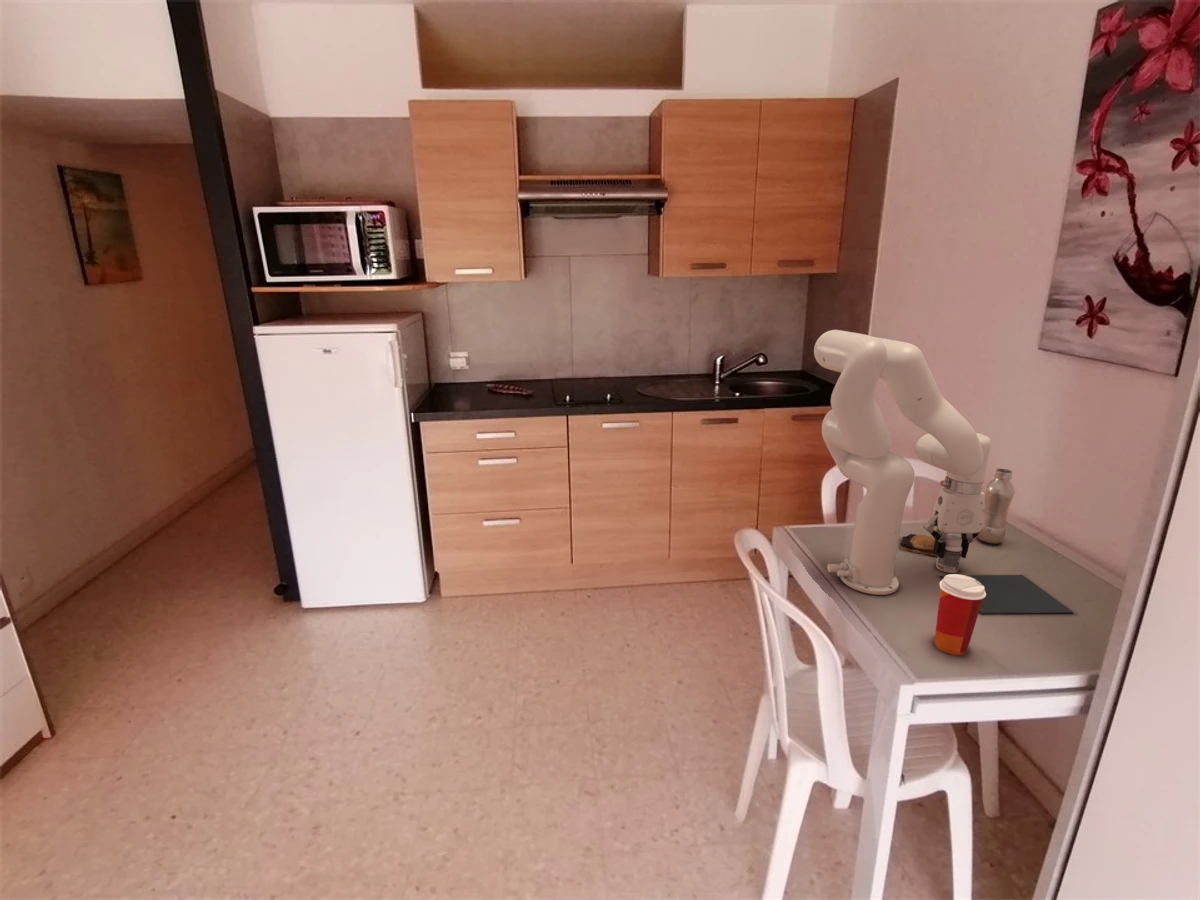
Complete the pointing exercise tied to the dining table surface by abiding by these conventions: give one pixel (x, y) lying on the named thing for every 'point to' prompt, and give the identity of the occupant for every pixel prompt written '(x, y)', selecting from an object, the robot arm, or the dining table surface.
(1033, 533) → the dining table surface
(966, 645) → the paper cup
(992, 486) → the plastic bottle
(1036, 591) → the mat
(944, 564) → the pill bottle
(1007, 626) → the dining table surface
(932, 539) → the bread roll
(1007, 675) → the dining table surface
